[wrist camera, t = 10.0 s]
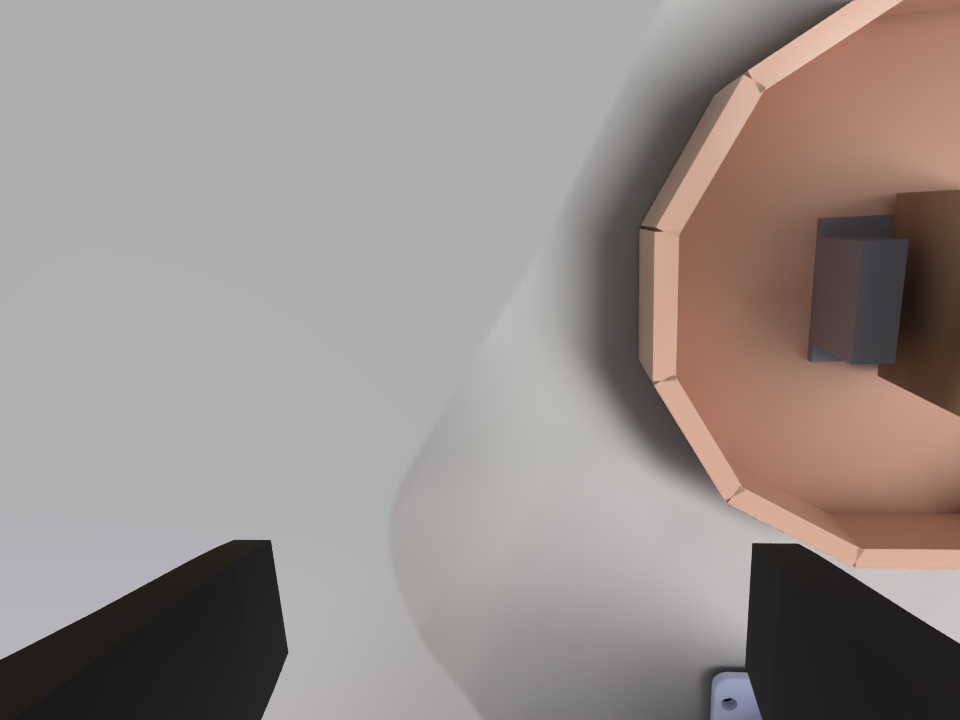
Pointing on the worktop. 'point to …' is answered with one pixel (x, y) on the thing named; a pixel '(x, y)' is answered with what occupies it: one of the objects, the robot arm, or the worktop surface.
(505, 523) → the worktop surface
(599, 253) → the worktop surface
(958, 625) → the worktop surface
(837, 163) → the candle dish
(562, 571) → the worktop surface
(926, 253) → the tan rectangular block
